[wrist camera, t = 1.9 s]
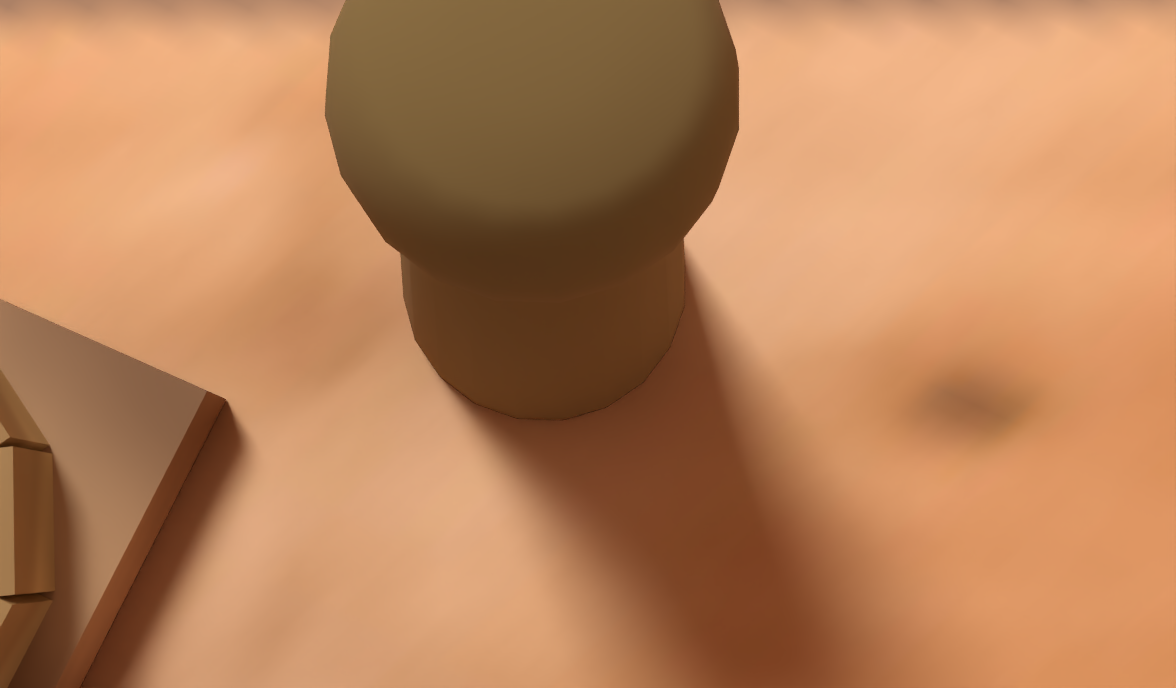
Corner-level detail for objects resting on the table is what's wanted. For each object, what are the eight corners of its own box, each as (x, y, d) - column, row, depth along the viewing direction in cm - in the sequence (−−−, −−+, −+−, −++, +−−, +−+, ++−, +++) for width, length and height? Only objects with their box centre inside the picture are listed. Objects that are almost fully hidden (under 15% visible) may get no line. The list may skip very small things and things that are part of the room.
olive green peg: (734, 226, 23) (890, -60, 12) (602, 472, 22) (642, 400, 11) (490, 99, 23) (430, -288, 12) (349, 334, 22) (149, 134, 11)
